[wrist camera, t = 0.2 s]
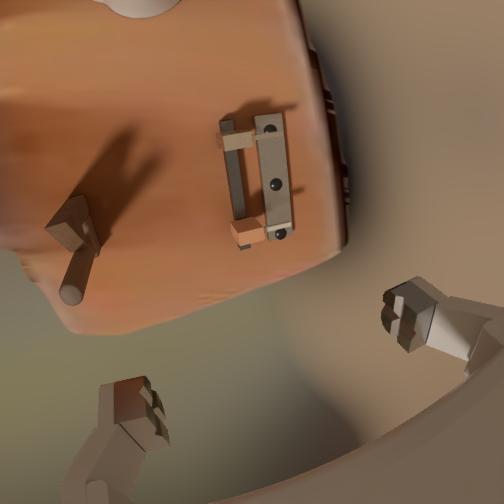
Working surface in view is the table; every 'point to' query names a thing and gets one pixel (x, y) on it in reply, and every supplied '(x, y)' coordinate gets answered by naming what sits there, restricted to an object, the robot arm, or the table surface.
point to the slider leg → (253, 230)
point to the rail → (237, 162)
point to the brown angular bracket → (75, 246)
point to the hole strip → (273, 174)
